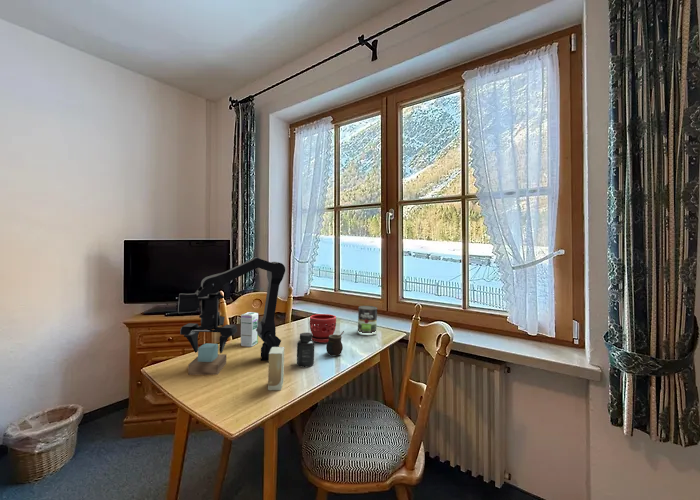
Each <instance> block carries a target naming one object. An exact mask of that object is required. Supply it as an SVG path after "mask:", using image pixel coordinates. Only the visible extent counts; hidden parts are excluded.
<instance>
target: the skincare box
mask: <svg viewBox="0 0 700 500" xmlns="http://www.w3.org/2000/svg"><path fill="white" fill-rule="evenodd" d="M284 366H285V347H284V346H279V347H272V348H271V350H270V352H269V361H268V374H267V375H268V377H267V379H268V380H267V390H268V391H281V390H282V389H283V385H284V375H285V374H284V372H285V371H284V369H285V367H284Z"/></svg>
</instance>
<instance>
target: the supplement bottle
mask: <svg viewBox="0 0 700 500" xmlns="http://www.w3.org/2000/svg"><path fill="white" fill-rule="evenodd" d="M314 364H315V341H313V340H312V333H311V332H302V333H300V334H299V340H298V341H297V343H296V365H297V366H298V367H300V368H309V367H312V366H313V365H314Z"/></svg>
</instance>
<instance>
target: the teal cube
mask: <svg viewBox="0 0 700 500" xmlns="http://www.w3.org/2000/svg"><path fill="white" fill-rule="evenodd" d="M218 354H219V344H218V343H203V344H202V345H200V346H198V351H197V356H198V362H212V361H213V360H215V359H216V358H217V357H218Z"/></svg>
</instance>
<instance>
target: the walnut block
mask: <svg viewBox="0 0 700 500" xmlns="http://www.w3.org/2000/svg"><path fill="white" fill-rule="evenodd" d="M226 365H227V354H222V353H218V357H217V358H216V359H215V360H213V361H212V362H198V355H197V356H196V357H195V358H194V359H193V360H192V361H191V362H190V363H188V369H187V371H188V373H187V374H188V375H189V376H193V375H194V376H195V375H197V376H198V375H200V376H201V375H204V376H205V375H212V376H213V375H214V376H215V375H219V374H220V372H221V371H222V370H223V369H224V368H225V366H226Z"/></svg>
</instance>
